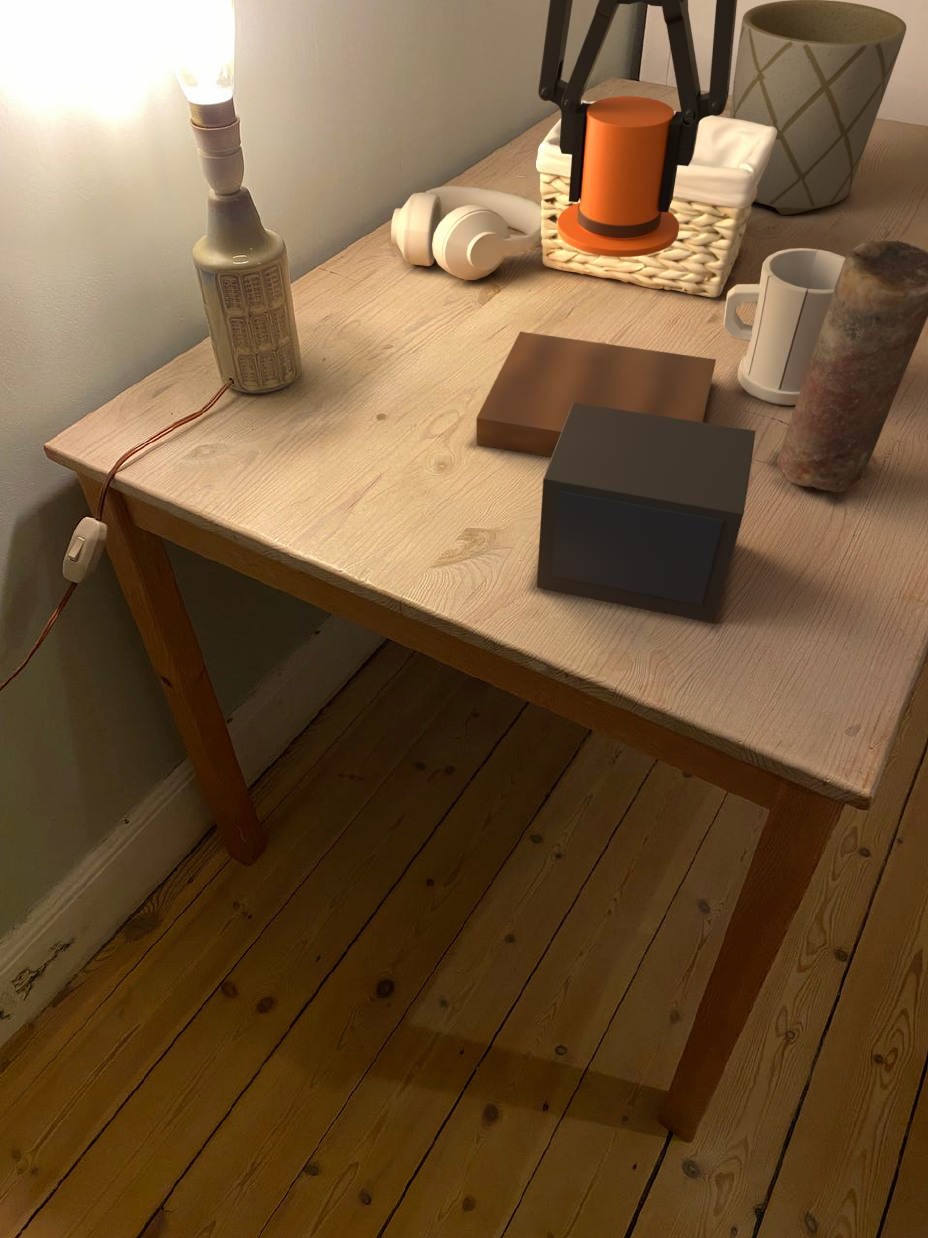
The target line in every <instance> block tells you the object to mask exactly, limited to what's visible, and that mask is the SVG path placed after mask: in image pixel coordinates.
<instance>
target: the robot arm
mask: <svg viewBox="0 0 928 1238" xmlns="http://www.w3.org/2000/svg"><path fill="white" fill-rule="evenodd" d="M573 1H574V0H549V6H548V14H547V19H546V20H547V21H546V29H545V36H544V44H543V50H542V51H543V52H542V60H541V66H540V75H539V81H538V82H539V83H538V90H537V91H538V93H537V94H538V97H539V98H540V99H541V100H542V101H544V102H548V101H549V102H551V103H553V104H555V105H557V107H559V110H560V115H561V116H560V119H561V130H560V146H559V147H560V150H561V154H569V155H572V160H571V174H570V188H569V202H578V201H579V199H580V192H581V180H582V167H583V154H584V142H585V129H586V116H587V109H588V107H589V106H590V105H591V104H590V103H582V104H581V100H582V98H583V97H584V94H585V91H586V89H587V86H588V84H589V81H590V79H591V76H592V73H593V71H594V69H595V67H596V64H597V61H598V58H599V56H600V53H601V51H602V49H603V46H604V43H605V41H606V39H607V37H608V33H609V31H610V28H611V26H612V24H613V21H614V19H615V16H616V13H617V11H618V9H619V7H620V5H632V4H636V3H637V4H638V3H644V4H646V5H649V6H651V7H661V9H662V16H663V20H664V23H665V25H666V30H667V31H666V32H667V36H668V41H669V48H670V54H671V60H672V66H673V71H674V77H675V84H676V88H677V95H678V101H679V107H680V111H681V112H679V110H675V111H676V112H675V115H674V118H673V119H672V122H671V126H670V133H669V140H668V147H667V154H666V161H665V168H664V175H663V182H662V189H661V196H660V203H659V210H658V212H667V213H668V210H669V208H670V205H671V202H672V199H673V193H674V186H675V180H676V173H677V166H678V165H680V166H689V164H690V162H691V160H692V158H693V155H694V150H695V144H696V138H697V132H698V126H699V122H700V120H701V119H703V118H705V117H708V116H711V115H712V116H720V115H722V114H723V113H724V111H725V109H726V106H727V102H728V100H729V97H730V95H729V94H730V83H731V74H732V62H733V61H732V60H733V50H734V40H735V30H736V29H735V28H736V17H737V7H738V6H737V5H738V0H716V1H715V2H716V3H715V13H714V26H713V39H712V51H711V53H712V55H711V64H710V77H709V78H710V79H709V92H706V93H702V90H701V83H700V77H699V76H700V75H699V70H698V64H697V57H696V51H695V44H694V38H693V33H692V32H693V31H692V25H691V24H692V23H691V20H690V12H689V0H598V2H597V4H596V7H595V11H594V14H593V17H592V19H591V22H590V24H589V27H588V29H587V33H586V35H585V38H584V41H583V43H582V45H581V47H580V51H579V53H578V56H577V58H576V61H575V64H574V67H573V69H572V72H571V74H570V77H569V80H568V82H567V81H565V80H563V79H562V77H563V71H564V64H565V58H566V57H565V56H566V50H567V44H568V35H569V28H570V23H571V16H572V8H573Z"/></svg>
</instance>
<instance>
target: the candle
mask: <svg viewBox="0 0 928 1238" xmlns="http://www.w3.org/2000/svg"><path fill="white" fill-rule="evenodd" d="M927 321H928V251H927V250H925V249H921V248H920V247H917V246H915V245H911V244H909V243H907V242H903V241H900V240H878V241H875V240H870V241H866V242H862V243H861V244H858V245H857V246H855V247H854V248H853V249H852V250H850V251H849V252H848V253H847V254H846V255H845V260H844V263H843V265H842V269H841V272H840V275H839V278H838V280H837V282H836V285H835V289H834V292H833V295H832V298H831V301H830V304H829V307H828V311H827V314H826V316H825V319H824V322H823V325H822V328H821V332H820V335H819V338H818V341H817V344H816V346H815V349H814V352H813V355H812V358H811V362H810V365H809V368H808V371H807V374H806V377H805V380H804V383H803V386H802V389H801V391H800V394H799V397H798V401H797V403H796V405H794V408H793V412H792V415H791V419H790V421H789V424H788V426H787V429H786V433H785V436H784V439H783V442H782V444H781V448H780V452H779V455H778V457H777V460H776V463H777V466H778V469H779V472H780V474H781V476H782V477H783V478H785V479H786V480H788V481H789V482H790V483H792V484H793V483H794V484H797V485H798V486H801V487H808V488H809V487H813V488H815V489H816V490H817V491H826V492H829V493H831V492H833V493H840V492H844V491H846V490H850V489H852V488H854V486H856V484H858V483H859V482H860V481H861V480H862V478H863V477H864V475H865V473H866V470H867V467H868V465H869V462H870V460H871V459H872V458H871V457H872V456H873V453H874V450H875V448H876V447H877V443H878V441H879V439H880V436H881V433H882V431H883V428H884V426H885V424H886V421H887V419H888V416H889V414H890V411H891V408H892V406H893V404H894V401H895V398H896V396H897V393H898V391H899V389H900V386H901V383H902V381H903V379H904V375H905V373H906V371H907V369H908V367H909V364H910V361H911V358H912V357H913V354H914V352H915V349H916V347H917V345H918V343H919V340H920V337H921V334H922V332H923V329H924V327H925V324H926V322H927Z"/></svg>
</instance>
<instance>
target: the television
mask: <svg viewBox="0 0 928 1238" xmlns="http://www.w3.org/2000/svg"><path fill="white" fill-rule="evenodd" d="M756 432H757V431H756V430H752V429H746V428H739V427H733V426H727V425H721V424H715V423H710V422H709V423H708V422H704V421H703V422H696V421H690V420H684V419H677V418H671V417H664V416H658V415H652V414H645V413H639V412H633V411H626V410H620V409H614V408H607V407H601V406H595V405H588V404H582V403H576V402H573V404H572V406H571V409H570V412H569V414H568V417H567V419H566V422H565V424H564V427H563V429H562V432H561V435H560V437H559V440H558V442H557V445H556V447H555V450H554V453H553V455H552V457H550V460H549V462H548V465H547V468H546V470H545V473H544V475H543V479H542V490H541V491H542V493H541V508H540V510H541V511H540V523H539V539H538V540H539V542H538V554H537V555H538V556H537V572H536V573H537V574H536V588H537V589H542V590H548V591H552V592H557V593H562V594H567V595H571V596H572V595H573V596H576V597H577V596H578V597H582V598H586V599H592V600H597V601H602V602H607V603H611V604H616V605H622V606H627V607H631V608H637V609H642V610H646V611H650V612H651V611H652V612H656V613H661V614H667V615H671V616H675V617H676V616H677V617H682V618H686V619H691V620H696V621H701V622H705V623H710V624H714V622H715V620H716V617H717V612H718V608H719V606H720V601H721V598H722V594H723V591H724V587H725V583H726V580H727V576H728V573H729V570H730V569H729V568H730V565H731V561H732V558H733V553H734V551H735V546H736V543H737V540H738V536H739V532H740V529H741V525H742V521H743V519H744V514H745V508H746V501H747V493H748V489H749V488H748V487H749V479H750V473H751V468H752V467H751V466H752V460H753V454H754V445H755V439H756V434H757V433H756Z"/></svg>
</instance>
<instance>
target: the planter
mask: <svg viewBox="0 0 928 1238" xmlns="http://www.w3.org/2000/svg"><path fill="white" fill-rule="evenodd" d="M906 33H907V24H906V23H905V21H904V20H903V19H902V18H900V17H899V16H897V15H895V14H894V13H892V12H890V11H886V10H883V9H881V8H877V7H874V6H869V5H864V4H859V3H854V2H847V1H840V0H838V1H837V0H781V1H772V2H768V3H763V4H759V5H757V6H755V7H752V8H750V9H748V10H746V12H745V13H743V16H742V19H741V25H740V32H739V38H738V39H739V40H738V47H737V53H736V61H735V69H734V78H733V85H732V94H731V103H730V108H729V109H730V111H729V117H728V118H732V119H738V120H745V121H749V122H753V123H758V124H762V125H765V126H769V127H775V128H776V129H777V136H776V139H775V142H774V145H773V148H772V152H771V155H770V158H769V161H768V164H767V166H766V168H765V170H764V172H763V174H762V177H761V179H760V181H759V183H758V185H757V194H756V198H755V200H754V201H753V203H757V204H761V205H765V206H769V207H771V208H774V209H775V210H776V211H777V213H778V214H779V215H781V216H789V215H794V214H795V215H796V214H800V213H803V212H804V213H805V212H808V211H814V210H818V209H822V208H825V207H829V206H832V205H835V204H838V203H840V202H841V201H843V200H845V199H846V198H847V197H848V196H849V193H850V191H851V189H852V186H853V184H854V181H855V179H856V176H857V172H858V170H859V166H860V163H861V161H862V158H863V155H864V152H865V150H866V147H867V143H868V140H869V138H870V135H871V132H872V130H873V127H874V124H875V121H876V119H877V116H878V113H879V110H880V108H881V105H882V103H883V100H884V97H885V94H886V91H887V88H888V86H889V83H890V80H891V76H892V74H893V72H894V68H895V65H896V62H897V59H898V57H899V53H900V52H901V48H902V44H903V42H904V39H905V36H906Z"/></svg>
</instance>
